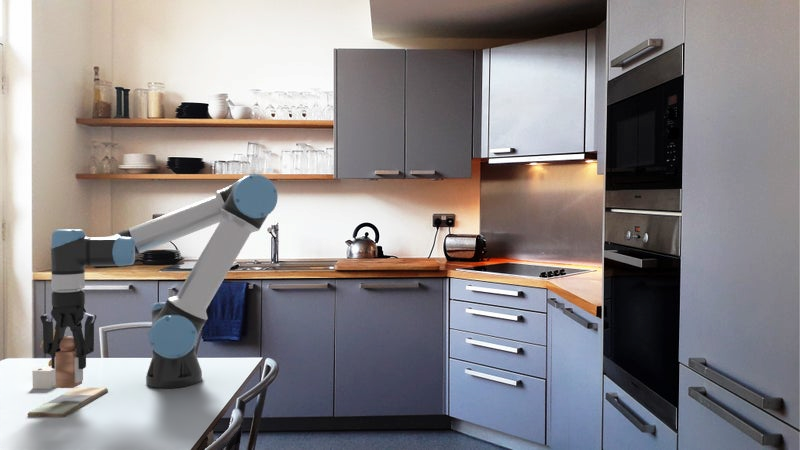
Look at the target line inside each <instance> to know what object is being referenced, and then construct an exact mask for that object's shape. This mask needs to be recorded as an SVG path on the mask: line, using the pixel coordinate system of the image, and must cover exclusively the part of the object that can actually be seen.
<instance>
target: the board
mask: <svg viewBox="0 0 800 450" xmlns="http://www.w3.org/2000/svg"><path fill="white" fill-rule="evenodd" d="M108 392H109V389H108V388H107V387H81V386H80V387H79V386H76V387H74V388H71V390H69V391H67V392H65V393H62V394H61V395H59V396H57V397H55V398H53V399H51V400H50V401H48V402H46V403H44V404H42V405H39V406H37V407H36V408H34V409H32V410H30V411H29V412H28V413H27V417H28V418H30V417H31V418H34V417H35V418H37V417H38V418H39V417H40V418H41V417H43V418H65V417H68V415H70V414H73V413H74V412H76V411H78V410H79V409H81V408H83V407H85V406H86V405H88V404H90V403H91V402H93V401H95V400H97V399H98V398H100V397H101V396H103V395H105V394H107V393H108Z"/></svg>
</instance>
